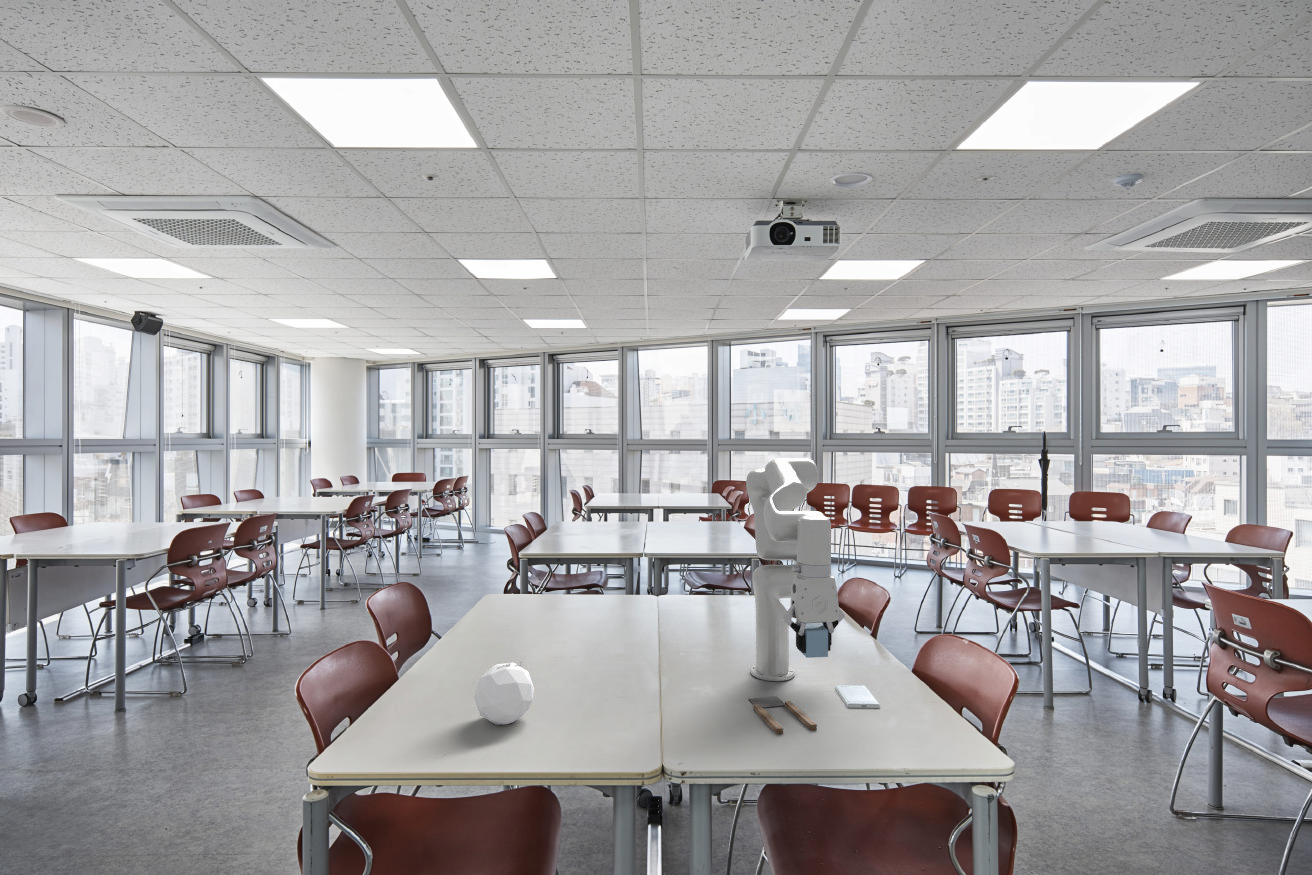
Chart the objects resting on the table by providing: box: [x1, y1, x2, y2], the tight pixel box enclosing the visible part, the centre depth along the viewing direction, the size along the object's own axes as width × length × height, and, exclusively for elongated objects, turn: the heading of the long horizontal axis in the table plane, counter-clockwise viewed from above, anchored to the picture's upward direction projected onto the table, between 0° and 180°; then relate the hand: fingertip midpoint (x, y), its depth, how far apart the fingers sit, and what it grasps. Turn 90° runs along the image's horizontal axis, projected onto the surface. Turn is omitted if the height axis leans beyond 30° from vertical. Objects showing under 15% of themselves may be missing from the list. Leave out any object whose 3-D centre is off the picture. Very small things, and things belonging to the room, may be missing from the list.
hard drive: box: [834, 684, 881, 709], centre depth 162 cm, size 2×8×12 cm
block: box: [799, 623, 829, 659], centre depth 140 cm, size 5×5×6 cm
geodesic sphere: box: [473, 661, 535, 725], centre depth 149 cm, size 15×14×14 cm
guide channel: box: [747, 695, 818, 735], centre depth 152 cm, size 20×10×1 cm, turn 13°
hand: (813, 649), depth 140 cm, fingers closed on block, 5 cm apart
